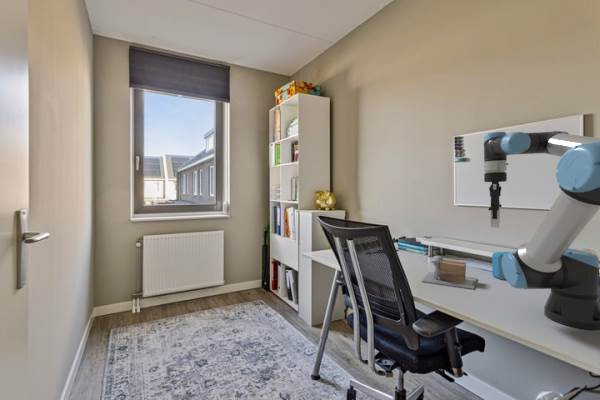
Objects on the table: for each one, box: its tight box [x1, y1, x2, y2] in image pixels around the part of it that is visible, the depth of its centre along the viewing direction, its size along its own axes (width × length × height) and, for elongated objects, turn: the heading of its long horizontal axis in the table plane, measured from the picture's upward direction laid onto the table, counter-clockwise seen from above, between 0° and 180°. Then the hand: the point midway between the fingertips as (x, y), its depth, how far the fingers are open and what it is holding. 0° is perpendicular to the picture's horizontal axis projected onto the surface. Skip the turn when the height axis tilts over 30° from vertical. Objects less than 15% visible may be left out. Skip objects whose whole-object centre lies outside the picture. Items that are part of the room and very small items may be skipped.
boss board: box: [421, 255, 478, 290], centre depth 141 cm, size 16×21×10 cm
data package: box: [491, 251, 516, 281], centre depth 142 cm, size 12×4×12 cm, turn 91°
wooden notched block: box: [439, 258, 467, 283], centre depth 141 cm, size 7×10×8 cm
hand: (495, 225), depth 120 cm, fingers open, 13 cm apart
